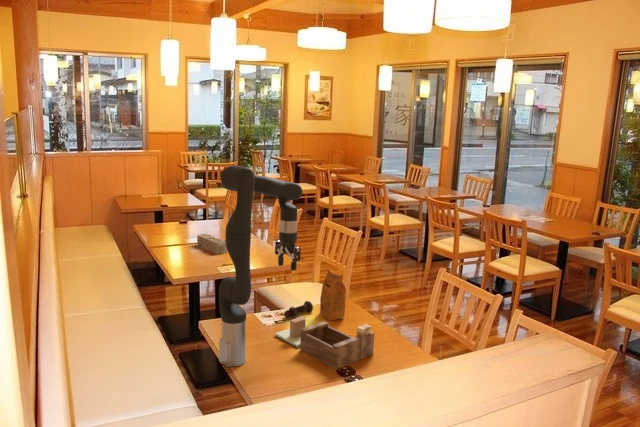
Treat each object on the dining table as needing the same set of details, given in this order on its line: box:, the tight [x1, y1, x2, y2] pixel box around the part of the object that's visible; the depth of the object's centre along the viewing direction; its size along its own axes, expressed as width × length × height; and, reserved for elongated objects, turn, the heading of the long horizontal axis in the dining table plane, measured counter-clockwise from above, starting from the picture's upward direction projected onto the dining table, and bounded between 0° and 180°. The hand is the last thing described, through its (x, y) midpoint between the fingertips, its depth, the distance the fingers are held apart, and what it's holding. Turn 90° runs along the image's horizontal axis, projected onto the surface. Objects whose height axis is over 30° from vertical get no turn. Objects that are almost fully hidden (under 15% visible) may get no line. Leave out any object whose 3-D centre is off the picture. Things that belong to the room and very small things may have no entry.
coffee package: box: [319, 268, 347, 322], centre depth 256 cm, size 10×12×22 cm
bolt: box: [283, 300, 314, 319], centre depth 257 cm, size 6×5×15 cm
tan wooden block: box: [356, 323, 372, 336], centre depth 216 cm, size 5×3×3 cm, turn 133°
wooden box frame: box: [299, 321, 375, 370], centre depth 219 cm, size 21×21×9 cm
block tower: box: [196, 233, 228, 255], centre depth 364 cm, size 8×8×29 cm
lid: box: [274, 316, 307, 348], centre depth 231 cm, size 13×15×9 cm
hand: (287, 267), depth 228 cm, fingers open, 8 cm apart
